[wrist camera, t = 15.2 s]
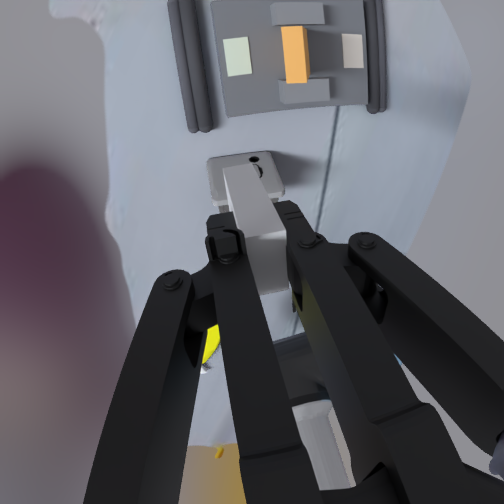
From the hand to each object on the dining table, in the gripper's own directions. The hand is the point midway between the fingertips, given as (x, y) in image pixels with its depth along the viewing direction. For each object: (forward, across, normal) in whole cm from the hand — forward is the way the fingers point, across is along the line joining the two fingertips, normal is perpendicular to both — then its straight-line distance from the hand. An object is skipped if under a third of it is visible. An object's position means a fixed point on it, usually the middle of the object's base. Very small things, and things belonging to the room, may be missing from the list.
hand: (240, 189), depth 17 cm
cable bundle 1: (+29, +1, -6) cm, 30 cm away
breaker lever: (+25, -12, -6) cm, 29 cm away
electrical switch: (+30, -3, +11) cm, 32 cm away
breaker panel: (+29, -12, -6) cm, 32 cm away
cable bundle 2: (+29, -24, -6) cm, 38 cm away
